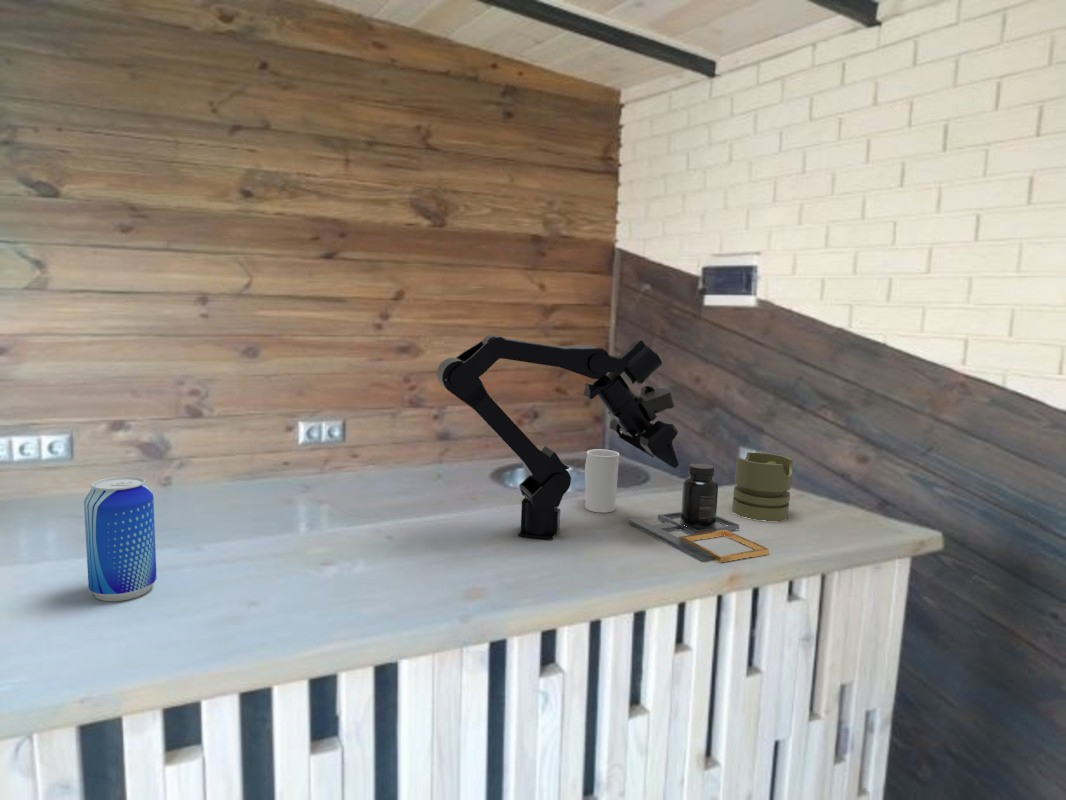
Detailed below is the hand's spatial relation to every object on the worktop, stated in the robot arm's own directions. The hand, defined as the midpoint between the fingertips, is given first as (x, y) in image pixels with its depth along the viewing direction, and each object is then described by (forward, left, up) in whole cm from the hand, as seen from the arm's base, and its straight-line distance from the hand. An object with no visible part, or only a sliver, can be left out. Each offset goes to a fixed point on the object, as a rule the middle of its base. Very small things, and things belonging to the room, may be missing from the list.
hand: (665, 460), depth 139 cm
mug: (-14, +9, -13) cm, 21 cm away
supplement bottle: (+7, +3, -13) cm, 15 cm away
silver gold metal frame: (+8, -4, -13) cm, 16 cm away
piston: (+20, +16, -13) cm, 29 cm away
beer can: (-73, -56, -13) cm, 93 cm away
